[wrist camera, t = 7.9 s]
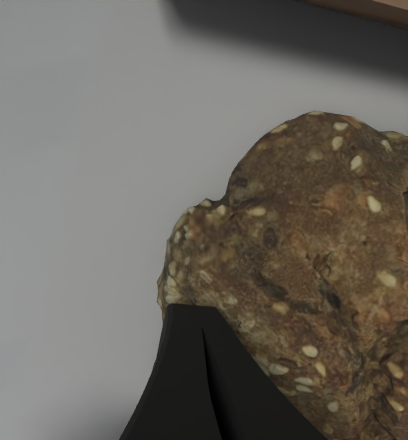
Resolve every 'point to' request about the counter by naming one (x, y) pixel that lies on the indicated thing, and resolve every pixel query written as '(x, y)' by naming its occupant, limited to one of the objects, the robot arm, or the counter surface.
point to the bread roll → (311, 269)
